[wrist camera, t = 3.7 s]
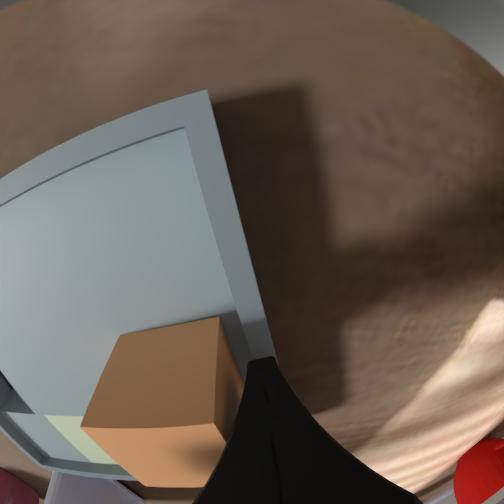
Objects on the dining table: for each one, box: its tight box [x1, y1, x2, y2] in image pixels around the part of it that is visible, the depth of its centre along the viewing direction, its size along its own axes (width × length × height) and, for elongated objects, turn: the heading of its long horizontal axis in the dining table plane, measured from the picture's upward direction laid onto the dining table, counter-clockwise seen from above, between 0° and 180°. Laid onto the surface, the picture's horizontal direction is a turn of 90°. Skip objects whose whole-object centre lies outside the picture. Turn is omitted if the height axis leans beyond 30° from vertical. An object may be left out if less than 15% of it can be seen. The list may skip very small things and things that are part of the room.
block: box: [80, 316, 245, 487], centre depth 9 cm, size 4×4×4 cm
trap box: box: [0, 90, 279, 481], centre depth 12 cm, size 18×20×3 cm
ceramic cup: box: [454, 437, 504, 504], centre depth 23 cm, size 13×17×10 cm
